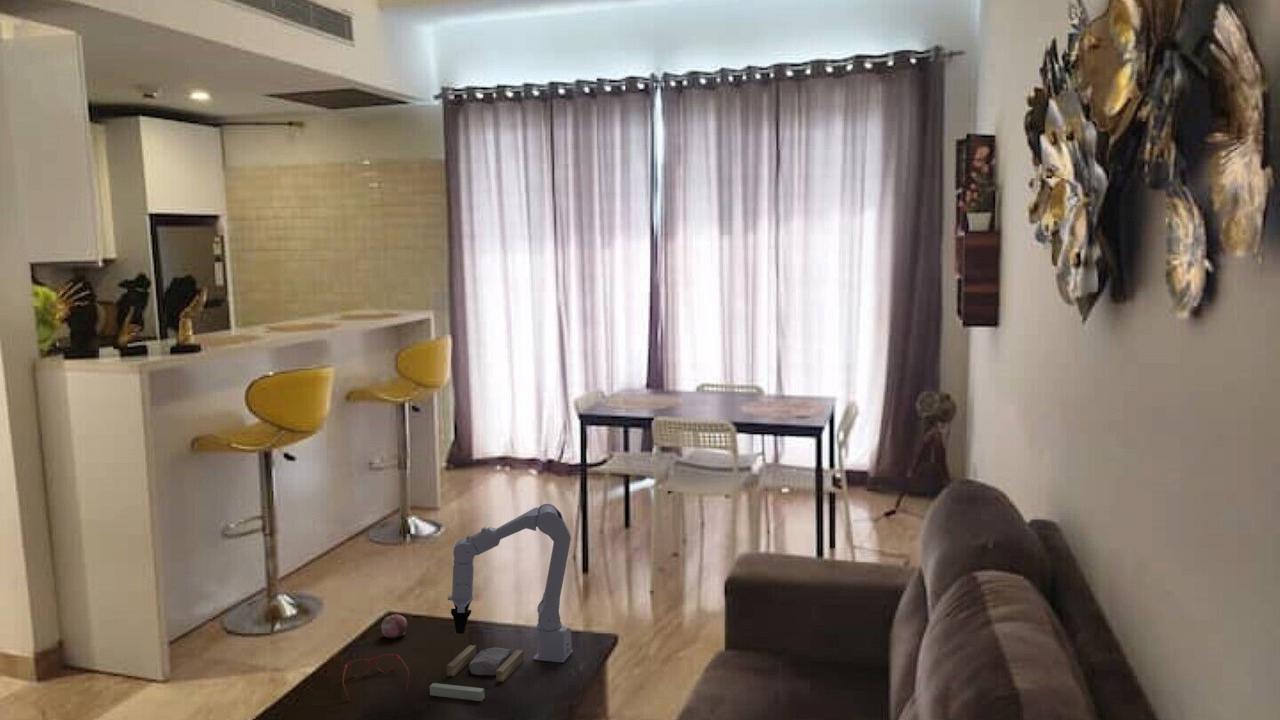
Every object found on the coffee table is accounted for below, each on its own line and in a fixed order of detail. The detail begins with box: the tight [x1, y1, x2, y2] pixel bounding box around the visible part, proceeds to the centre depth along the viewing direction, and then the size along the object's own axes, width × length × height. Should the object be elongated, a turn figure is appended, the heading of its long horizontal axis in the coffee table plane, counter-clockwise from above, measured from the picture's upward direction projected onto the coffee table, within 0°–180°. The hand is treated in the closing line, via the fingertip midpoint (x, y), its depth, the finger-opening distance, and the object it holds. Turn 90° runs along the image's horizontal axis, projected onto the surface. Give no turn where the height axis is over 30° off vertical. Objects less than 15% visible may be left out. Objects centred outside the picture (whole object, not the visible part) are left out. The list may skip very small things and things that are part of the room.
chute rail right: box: [495, 649, 525, 683], centre depth 261 cm, size 2×14×3 cm, turn 164°
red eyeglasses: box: [342, 653, 410, 702], centre depth 255 cm, size 17×16×5 cm
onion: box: [380, 614, 408, 640], centre depth 287 cm, size 8×8×7 cm
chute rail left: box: [446, 644, 478, 677], centre depth 265 cm, size 2×14×3 cm, turn 164°
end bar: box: [429, 682, 486, 702], centre depth 246 cm, size 15×2×2 cm, turn 74°
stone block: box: [468, 647, 513, 676], centre depth 264 cm, size 12×5×10 cm
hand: (460, 627), depth 265 cm, fingers open, 7 cm apart
